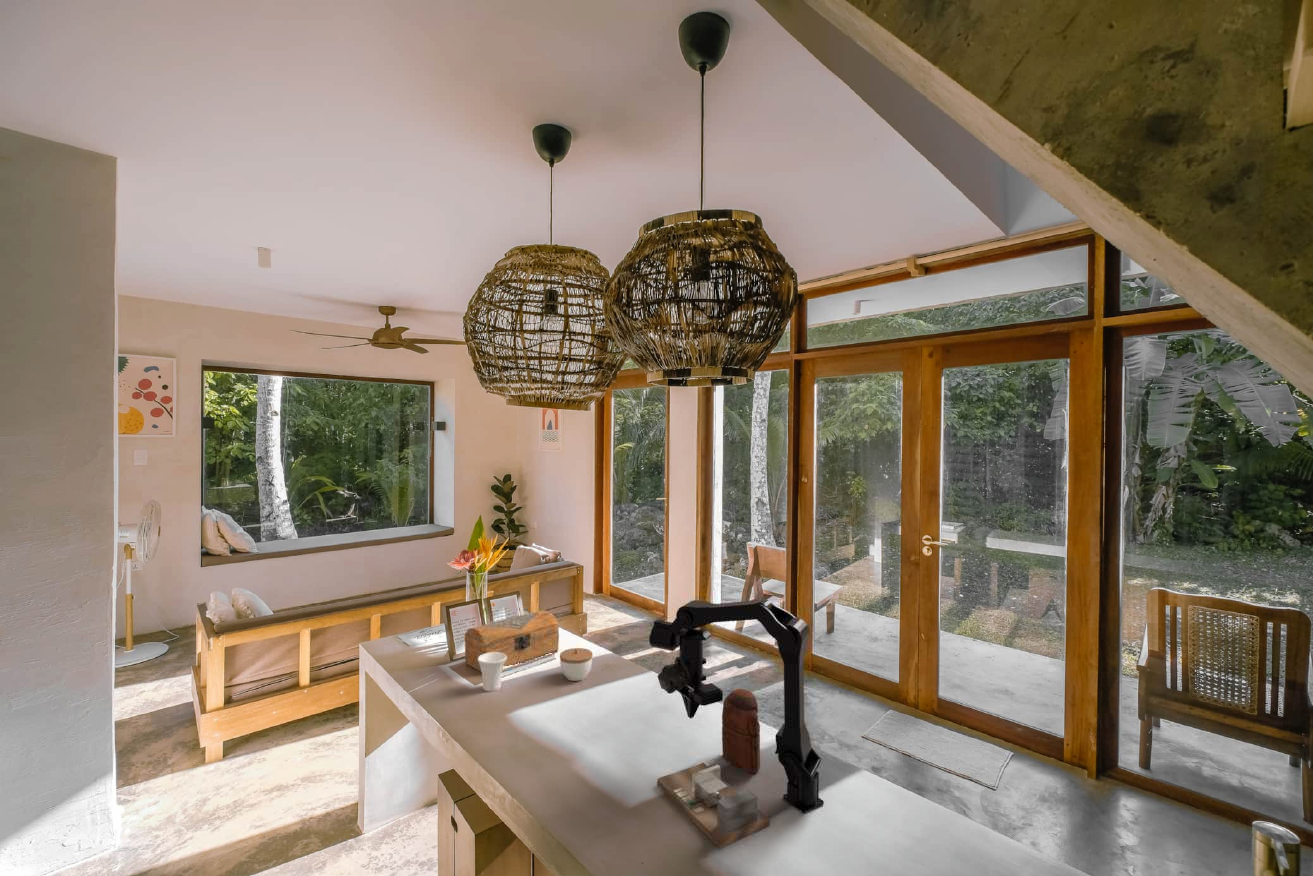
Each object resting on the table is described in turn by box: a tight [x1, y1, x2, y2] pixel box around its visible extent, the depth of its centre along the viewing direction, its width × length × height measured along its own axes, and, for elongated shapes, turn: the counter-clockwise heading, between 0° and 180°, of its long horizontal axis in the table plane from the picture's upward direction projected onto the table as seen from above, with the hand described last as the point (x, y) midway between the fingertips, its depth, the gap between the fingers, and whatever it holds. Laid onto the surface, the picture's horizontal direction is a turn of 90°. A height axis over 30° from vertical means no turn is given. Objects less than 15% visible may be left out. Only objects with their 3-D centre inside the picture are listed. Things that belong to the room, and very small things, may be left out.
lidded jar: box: [559, 647, 593, 682], centre depth 197 cm, size 11×11×9 cm
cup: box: [478, 652, 507, 692], centre depth 189 cm, size 9×9×10 cm
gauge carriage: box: [690, 764, 728, 807], centre depth 128 cm, size 9×9×5 cm
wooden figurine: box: [721, 688, 761, 774], centre depth 147 cm, size 12×6×18 cm, turn 42°
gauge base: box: [656, 762, 771, 849], centre depth 131 cm, size 13×24×6 cm, turn 31°
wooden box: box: [464, 610, 560, 673], centre depth 213 cm, size 30×16×14 cm, turn 134°
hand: (690, 717), depth 145 cm, fingers closed
